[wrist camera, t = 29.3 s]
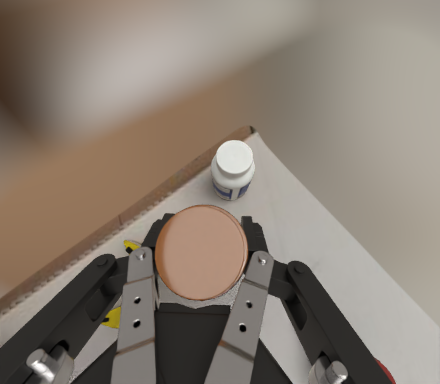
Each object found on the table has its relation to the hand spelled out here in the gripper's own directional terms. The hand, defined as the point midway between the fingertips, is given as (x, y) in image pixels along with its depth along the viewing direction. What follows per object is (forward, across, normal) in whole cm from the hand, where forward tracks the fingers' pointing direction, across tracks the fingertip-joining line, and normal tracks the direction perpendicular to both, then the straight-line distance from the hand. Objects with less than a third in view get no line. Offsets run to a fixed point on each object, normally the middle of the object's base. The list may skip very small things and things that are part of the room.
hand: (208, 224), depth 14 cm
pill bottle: (+14, -2, +4) cm, 15 cm away
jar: (+2, 0, +4) cm, 5 cm away
